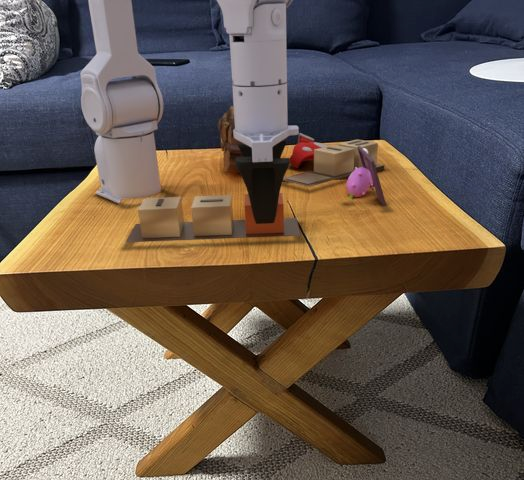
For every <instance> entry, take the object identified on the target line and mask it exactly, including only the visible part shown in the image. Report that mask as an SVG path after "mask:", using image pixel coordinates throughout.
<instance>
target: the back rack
mask: <svg viewBox="0 0 524 480" xmlns="http://www.w3.org/2000/svg"><path fill="white" fill-rule="evenodd" d="M358 146H360V147H361V148H365V149H367V150H368V155H369V156H370V157H371V158H372V159H373V160H374V163H375V167H376V170H377V173H379V172H382V171H385V164H381V163H378V162H377V161H378V150H379V149H378V148H379V142H375V141H369V140H363V139H353V140H349V141H345V142H340V143H338V145H336V144H332V145H328V146H327V147H323V148H319V149H315V150H314V160H313V170H308V171H305V172H301V173H296V174H294V175H290V176H287V177H286V176H285V177H284V178H283V181H282V183H293V184H295V185H301V186H304V187H307V188H311V187H313V186H318V185H320V184H324V183H328V182H331V181H346V180H348V178H349V176H350V175H351V173H352V172H353V171H354V170H355V167H357V168H359V167H362V166H363V165H362V162H361V159H360V155H359V152H358V148H357V147H358ZM365 160H366V159H365ZM365 160H364V161H365ZM366 162H367V160H366ZM366 162H365V165H366ZM367 165H368V163H367ZM367 165H366V168H367V169H368V167H369V166H368V167H367Z"/></svg>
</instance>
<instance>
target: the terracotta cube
mask: <svg viewBox="0 0 524 480" xmlns="http://www.w3.org/2000/svg"><path fill="white" fill-rule="evenodd" d="M283 196H284V195H283V192H280V193H279V199H278V206H277V213H276V218H275V221H274V223H266V224H256V222H255V220H254V217H253V213H252V208H251V204H250V199H249V195H248V193H245V195H244V203H243V204H244V220H245V225H246V234H265V233H284V218H285V204H284V197H283Z"/></svg>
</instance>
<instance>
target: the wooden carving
mask: <svg viewBox="0 0 524 480" xmlns="http://www.w3.org/2000/svg"><path fill="white" fill-rule="evenodd" d="M217 127H218V133H219V134H220V149H221V151H222V152H223V158H222V159H223V168H224V170H225V171H226V172H234V173H239V171H238V169H237V167H236V165H235V159H236V157H243V155H242V153H241V151H240V149H239V147H238V143H239V142H240V141H238V140H237V139H235V138H234V134H233V130H234V129H235V121H234V105H231V106H230V107H229V108H228V111H227V112H224V113H223V115H222V117H221V118H220V119H219V120H218V124H217Z"/></svg>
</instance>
